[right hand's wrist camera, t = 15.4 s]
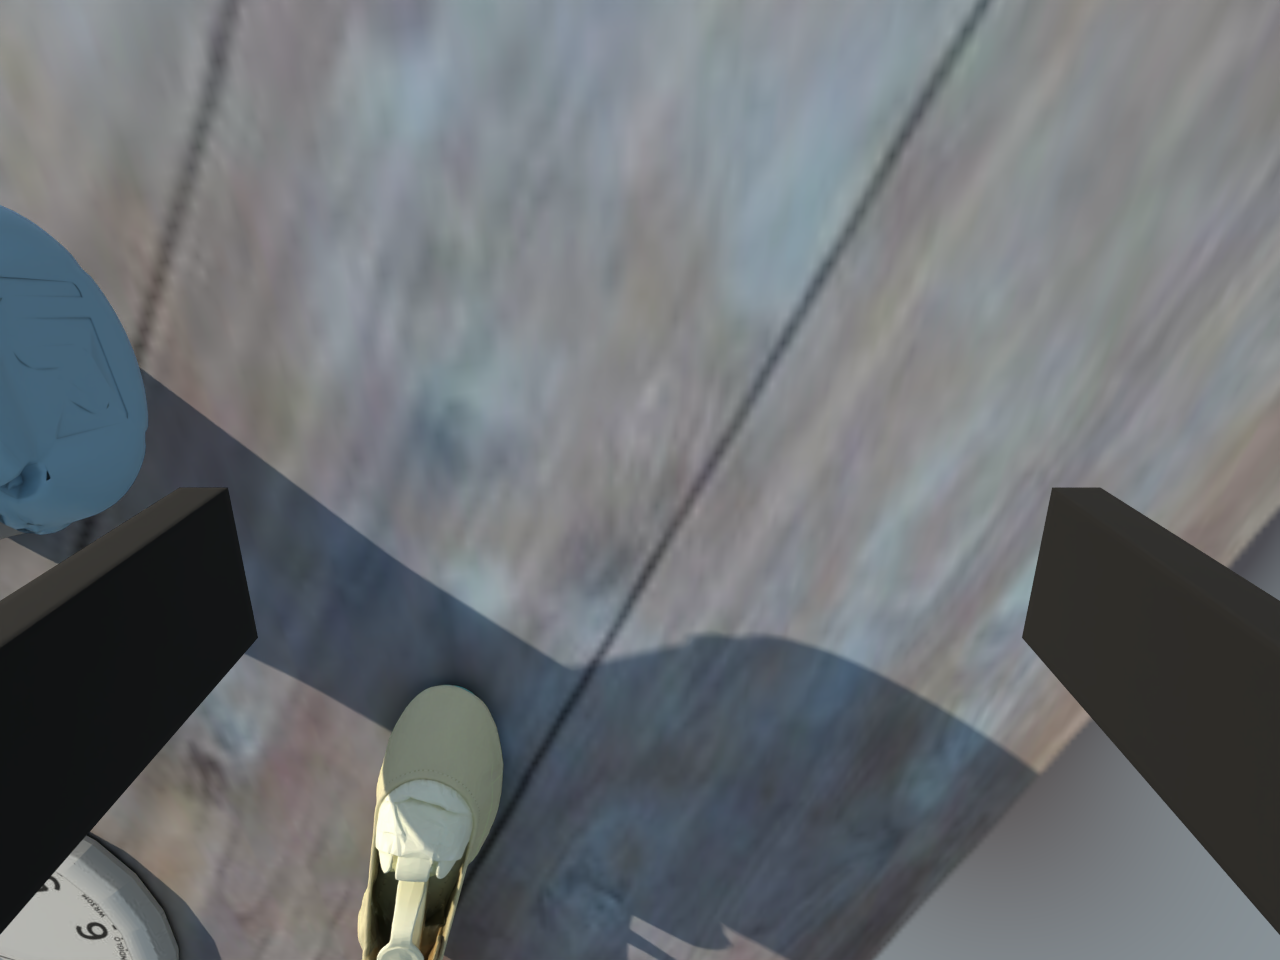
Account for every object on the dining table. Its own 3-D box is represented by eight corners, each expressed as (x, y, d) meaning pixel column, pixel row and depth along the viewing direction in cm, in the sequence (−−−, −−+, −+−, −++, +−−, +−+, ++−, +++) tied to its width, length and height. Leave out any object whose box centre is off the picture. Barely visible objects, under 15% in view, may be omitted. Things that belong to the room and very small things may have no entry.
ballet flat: (523, 688, 51) (503, 771, 44) (469, 946, 60) (445, 1053, 52) (400, 664, 51) (358, 745, 43) (362, 928, 59) (322, 1034, 52)
